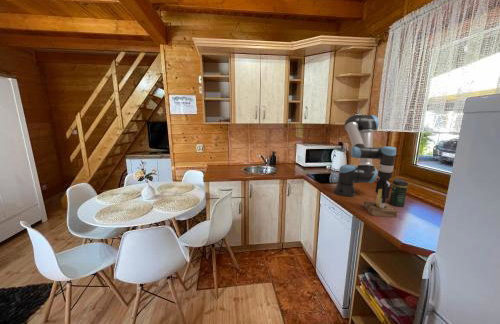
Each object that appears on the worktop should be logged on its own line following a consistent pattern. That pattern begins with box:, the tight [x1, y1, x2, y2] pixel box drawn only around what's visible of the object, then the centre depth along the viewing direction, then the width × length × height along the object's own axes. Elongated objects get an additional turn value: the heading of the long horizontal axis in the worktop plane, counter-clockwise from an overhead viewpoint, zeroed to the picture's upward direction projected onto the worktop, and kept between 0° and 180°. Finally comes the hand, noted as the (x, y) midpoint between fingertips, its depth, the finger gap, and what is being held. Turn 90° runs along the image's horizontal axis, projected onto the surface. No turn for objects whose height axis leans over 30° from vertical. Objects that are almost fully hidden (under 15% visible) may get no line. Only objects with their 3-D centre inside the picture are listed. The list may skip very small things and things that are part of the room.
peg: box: [375, 189, 382, 208], centre depth 135 cm, size 4×4×14 cm
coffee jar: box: [389, 178, 409, 207], centre depth 148 cm, size 10×8×19 cm
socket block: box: [363, 200, 398, 218], centre depth 136 cm, size 14×14×4 cm
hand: (379, 205), depth 135 cm, fingers closed on peg, 4 cm apart
